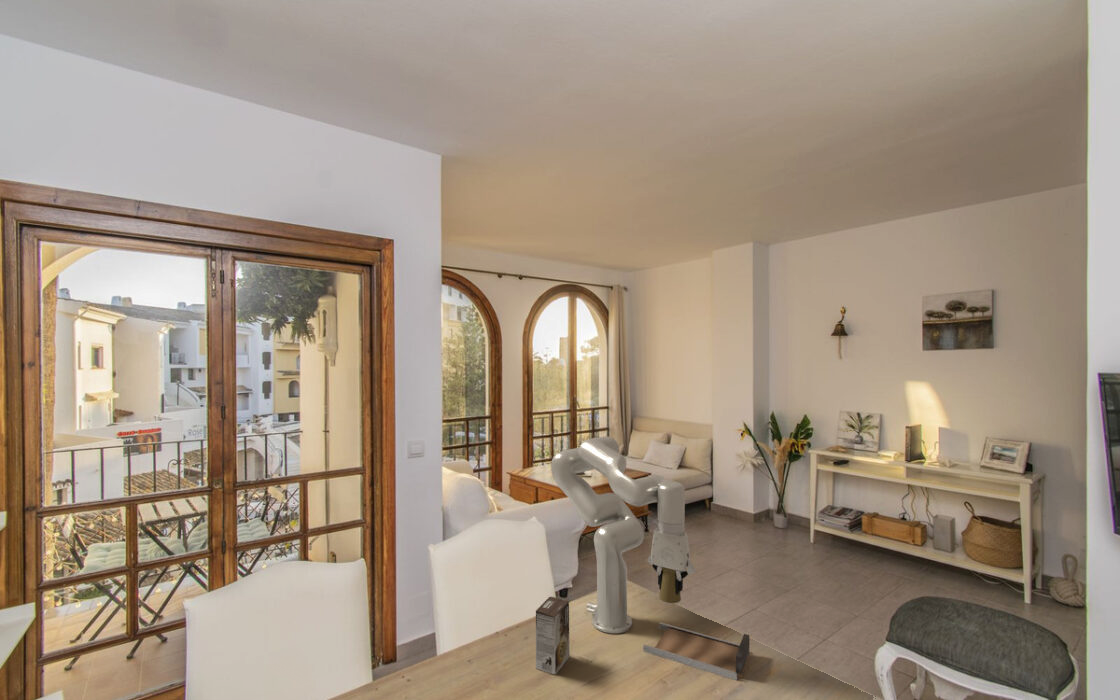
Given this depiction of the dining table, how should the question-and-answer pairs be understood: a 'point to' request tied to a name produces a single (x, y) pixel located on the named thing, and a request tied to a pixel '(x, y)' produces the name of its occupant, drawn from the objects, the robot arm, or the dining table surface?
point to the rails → (688, 660)
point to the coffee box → (552, 635)
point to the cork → (669, 587)
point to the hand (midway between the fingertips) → (670, 589)
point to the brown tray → (707, 650)
